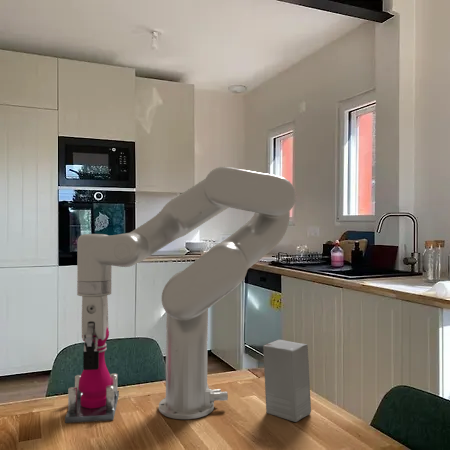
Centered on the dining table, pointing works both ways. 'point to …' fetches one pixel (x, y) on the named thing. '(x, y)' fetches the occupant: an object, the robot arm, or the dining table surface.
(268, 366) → the skincare box
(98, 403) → the pepper mill
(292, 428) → the dining table surface
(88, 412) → the stand
